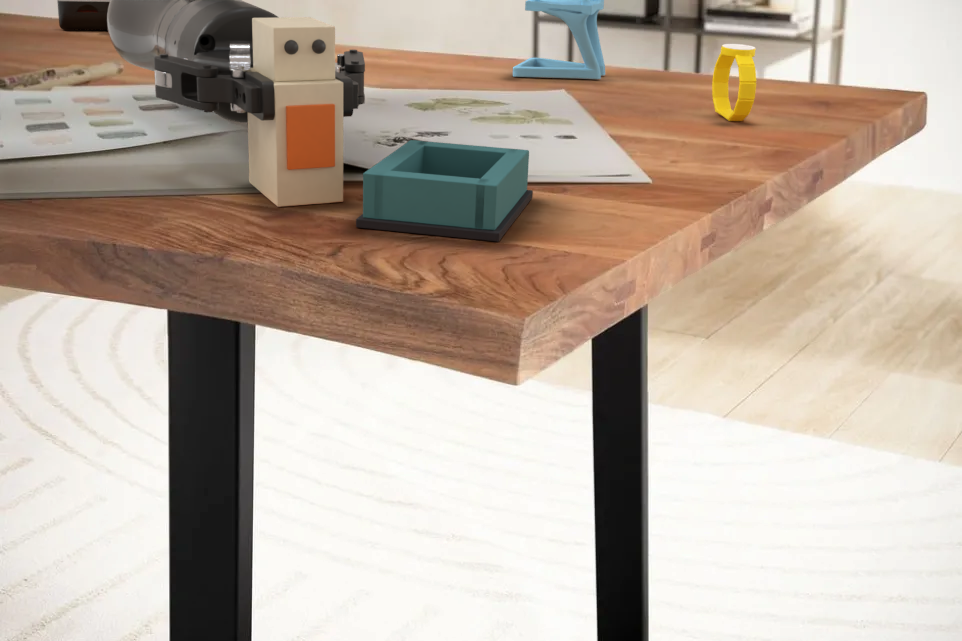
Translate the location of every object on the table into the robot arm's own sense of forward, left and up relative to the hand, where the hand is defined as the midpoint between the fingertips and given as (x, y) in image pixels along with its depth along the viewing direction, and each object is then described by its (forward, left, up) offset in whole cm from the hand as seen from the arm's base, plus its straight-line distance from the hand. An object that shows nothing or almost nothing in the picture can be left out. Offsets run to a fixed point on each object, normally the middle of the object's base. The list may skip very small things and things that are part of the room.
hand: (309, 100), depth 69 cm
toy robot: (+1, +3, -6) cm, 7 cm away
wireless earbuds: (+31, +75, -6) cm, 81 cm away
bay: (+5, -6, -6) cm, 10 cm away
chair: (+51, +23, -6) cm, 56 cm away
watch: (+45, 0, -6) cm, 45 cm away
